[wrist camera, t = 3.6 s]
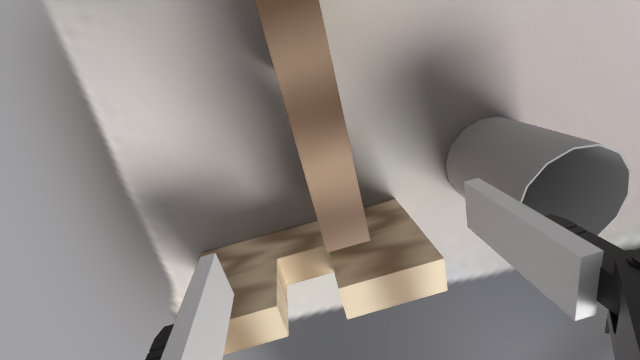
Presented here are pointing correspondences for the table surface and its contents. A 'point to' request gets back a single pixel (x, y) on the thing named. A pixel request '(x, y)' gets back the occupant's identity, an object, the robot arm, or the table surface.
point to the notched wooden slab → (327, 272)
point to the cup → (543, 170)
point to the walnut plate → (315, 116)
